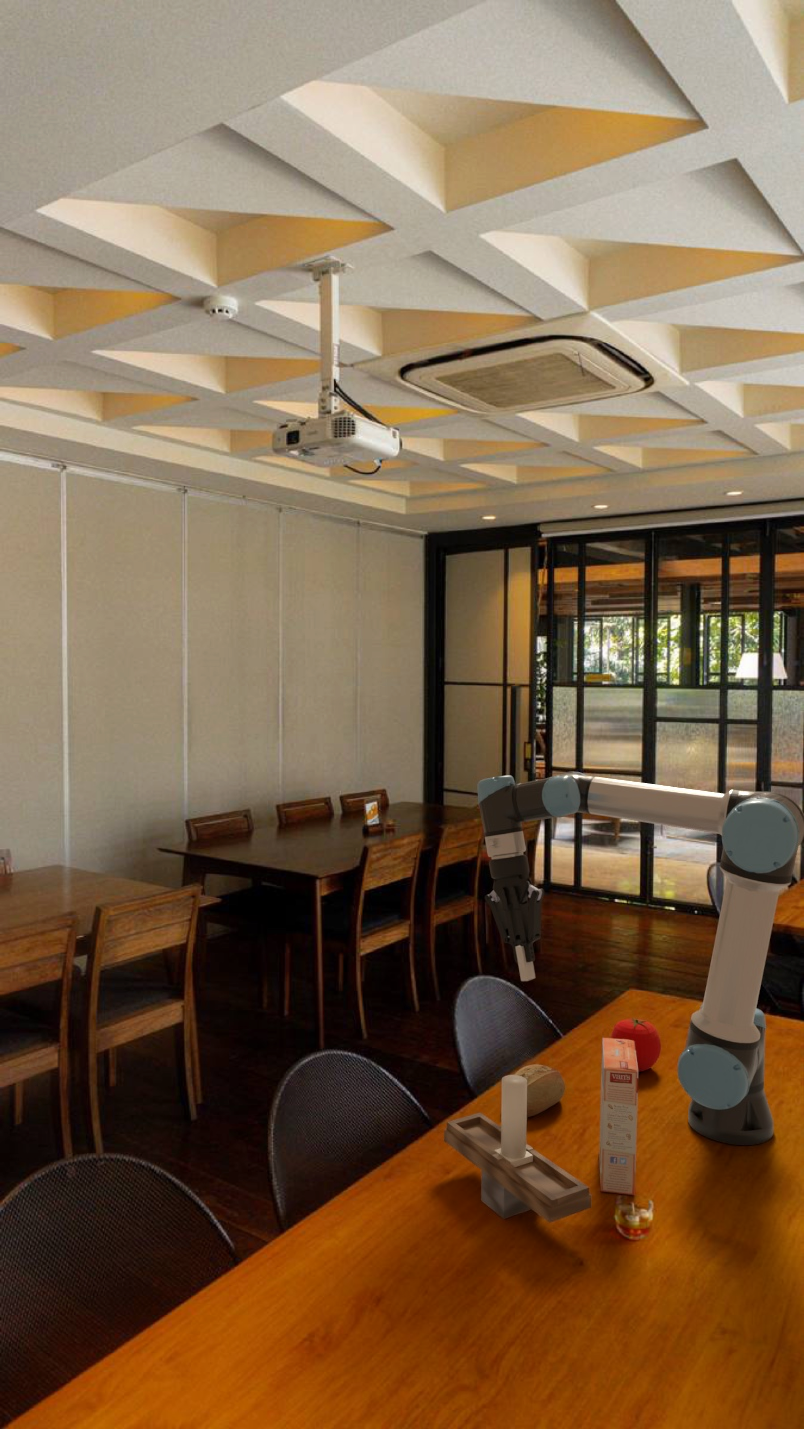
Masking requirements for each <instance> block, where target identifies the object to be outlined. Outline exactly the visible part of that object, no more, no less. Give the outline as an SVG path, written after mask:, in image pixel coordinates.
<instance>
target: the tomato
mask: <svg viewBox="0 0 804 1429" xmlns="http://www.w3.org/2000/svg"><path fill="white" fill-rule="evenodd" d="M610 1038H613V1039H627V1040H633V1041H634V1042H635V1050H636V1058H637V1065H638V1073H640V1072H644V1071H647V1070H649V1069H650V1068H652V1067H653V1066H654V1065H655V1064H656V1063H657V1061H658V1059H659V1058H660V1054H661V1052H662V1050H661V1049H662V1042H661V1037H660V1035H659V1033H658V1029H657V1028H656V1027H655V1026H654V1025H653V1024H652V1023H650V1022H649V1021H648V1020H645V1019H639V1018H633V1017H631V1018H628V1019H623V1020H619V1021H617V1023H616V1024H615V1025H614V1026H613V1029H612V1032H611V1036H610Z"/></svg>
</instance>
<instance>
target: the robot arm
mask: <svg viewBox="0 0 804 1429" xmlns="http://www.w3.org/2000/svg"><path fill="white" fill-rule="evenodd" d="M476 789H477V804H478V806H479V811H480V812H479V813H480V817H481V823H482V829H483V834H484V840H485V846H486V852H487V857H488V858H491V859H489V861H488V865H489V871H490V877H491V878H492V879H493V885H492V889H493V890H492V891H491V892H490V893H489V894H486V895H484V900H485V901H486V903H487V905H489V907H490V911H491V914H492V915H493V918H494V921H495V924H496V927H497V930H498V932H499V935H500V938H501V941H502V942H503V943H504V944H509V945H510V946H511V947H512V951H513V959H514V962H515V963H517V965H518V970H519V976H520V982H529V981H532V980H534V979H536V973H535V972H536V971H535V966H534V962H535V960H536V956H535V949H534V942H536V941H539V940H540V939H541V935H542V901H543V898H544V895H545V889H544V888H538V887H536V886H534V885H533V881H532V879H531V878H530V876H529V875H530V866H529V860H528V856H527V855H526V854H524V852H526V851H527V846H526V842H525V836H524V830H523V825H522V823H527V822H530V821H531V822H532V821H538V820H540V821H541V820H547V819H554V818H562V817H566V816H569V815H573V814H576V813H582V814H590V815H596V816H603V817H608V818H609V817H610V818H616V819H622V820H628V821H629V820H630V821H635V822H640V823H641V822H642V823H648V824H652V825H653V824H654V825H660V826H666V827H673V828H678V829H686V830H692V831H697V832H698V831H699V832H705V833H711V834H719V835H721V841H722V853H721V859H720V862H719V863H720V864H719V869H720V871H721V872H722V874H724V876H725V878H726V881H725V886H724V887H725V888H724V893H723V897H722V903H721V907H720V912H719V918H718V922H717V929H716V934H715V939H714V943H713V950H712V954H711V955H712V956H711V961H710V966H709V970H708V975H707V976H708V977H707V981H706V987H705V992H704V997H703V1002H702V1003H701V1005H700V1008H699V1010H696V1011H695V1012H693V1013H692V1014H691V1017H690V1023H689V1027H688V1030H687V1031H688V1032H687V1037H686V1043H685V1045H684V1046H685V1047H684V1050H683V1051H682V1052H680V1053H681V1054H680V1055H679V1057H678V1061H677V1077H678V1082H679V1083H680V1086H681V1087H682V1088H683V1090H684V1091H685V1092H686V1094H687V1095H688V1096H689V1097H690V1098H691V1100H690V1103H689V1106H688V1114H687V1115H688V1116H687V1118H688V1119H687V1120H688V1125H689V1126H690V1127H691V1128H692V1129H693V1130H694V1131H695V1132H697V1133H698V1134H700V1135H701V1136H703V1137H705V1138H708V1139H709V1140H713V1141H716V1142H720V1143H723V1144H729V1145H736V1146H753V1145H754V1146H755V1145H759V1144H763V1143H765V1142H768V1141H770V1139H772V1137H773V1135H774V1120H773V1119H774V1118H773V1115H772V1112H771V1109H770V1106H769V1103H768V1098H767V1096H766V1092H765V1063H766V1062H765V1059H766V1058H765V1054H766V1053H765V1052H766V1050H765V1049H766V1029H767V1025H766V1016H765V1013H764V1012H763V1011H762V1010H761V1009H759V1008H757V1005H758V1002H759V1001H758V1000H759V995H760V990H761V985H762V980H763V975H764V971H765V970H764V969H765V965H766V960H767V955H768V950H769V945H770V939H771V935H772V931H773V925H774V920H775V915H776V914H775V913H776V911H777V910H776V909H777V905H778V900H779V894H780V891H781V890H783V889H785V888H787V887H788V886H790V885H791V884H792V879H793V875H794V874H793V873H794V870H795V864H796V860H797V853H798V848H799V847H800V845H801V844H802V842H804V841H803V840H804V812H803V809H802V808H801V807H800V806H799V804H798V803H797V802H796V801H794V799H792V798H791V797H790V796H788V795H786V794H782V793H779V792H777V791H753V790H752V791H751V790H739V789H733V788H732V789H730V790H729V791H727V792H726V793H722V792H721V793H720V792H714V791H713V792H711V791H707V790H700V789H699V790H698V789H689V788H682V787H677V786H676V787H675V786H674V787H673V786H668V785H662V784H661V785H660V784H652V783H645V782H638V781H631V780H624V779H615V778H606V777H599V776H591V775H587V774H585V773H582V772H579V771H567V772H563V773H562V774H557V775H554V776H550V777H547V778H540V779H536V780H532V781H527V782H526V781H525V782H523V783H522V782H520V783H516V782H515V779H514V777H513V776H512V775H510V774H509V775H502V776H501V775H500V776H493V777H489V778H483V779H481V780H479V781H478V782H477V785H476Z"/></svg>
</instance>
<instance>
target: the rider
mask: <svg viewBox="0 0 804 1429" xmlns="http://www.w3.org/2000/svg"><path fill="white" fill-rule="evenodd" d="M500 1112H501V1120H500V1121H501V1123H500V1126H501V1148H500V1149H496V1150H494V1152H495V1153H498V1154H499V1155H500V1156H502V1157H503V1159H505V1160H506V1161H507V1162H509V1163H510V1164H511V1165H513V1166H514V1167H517V1166H520V1165H523V1164H527V1163H530V1162H533V1155H532V1154H530V1153H529V1152H528V1151H526V1144H527V1122H528V1121H527V1120H528V1117H527V1079H526V1078H524V1077H522V1076H519V1075H514V1074H509V1075H505V1076H502V1078H501V1111H500Z"/></svg>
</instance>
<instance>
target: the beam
mask: <svg viewBox="0 0 804 1429" xmlns="http://www.w3.org/2000/svg"><path fill="white" fill-rule="evenodd" d="M443 1130H444V1131H443V1132H444V1133H443V1136H444V1138H443V1140H444V1141H443V1142H445V1144H447V1145H448V1146H450V1147H451V1148H452V1149H454V1150H455V1151H456V1152H458V1153H459V1154H460V1155H461V1156H463V1157H464V1158H465V1159H467V1160H468V1161H469V1162H471V1163H472V1164H473V1165H474V1166H475V1167H477V1168H478V1169H480V1170H481V1177H480V1178H481V1181H480V1183H481V1185H480V1186H481V1188H480V1189H481V1190H480V1191H481V1192H480V1196H481V1198H480V1200H481V1202H482V1203H483V1204H485V1205H486V1206H487V1207H489V1208H490V1209H491V1210H492V1211H493V1212H495V1214H497V1215H498V1216H500V1217H501V1218H502V1219H503V1220H505V1219H509V1218H510V1217H513V1216H515V1215H519V1214H521V1213H525V1212H527V1211H530V1210H532V1211H533V1212H535V1213H536V1214H537V1215H538V1216H540V1217H541V1218H543V1220H545V1221H546V1222H547V1223H549V1224H550V1223H552V1222H556V1221H558V1220H561V1219H564V1218H567V1217H569V1216H572V1215H575V1214H578V1213H580V1212H583V1211H586V1210H588V1209H591V1208H592V1194H591V1193H590V1187H589V1186H588V1185H586V1184H585V1183H583V1182H582V1181H580V1180H579V1179H577V1178H576V1177H574V1176H573V1175H571V1174H570V1173H569V1172H567V1171H566V1170H565V1169H563V1168H561V1167H560V1166H558V1165H557V1164H555V1163H554V1162H553V1161H551V1160H550V1159H548V1158H547V1157H545V1156H544V1155H542V1153H539V1152H538V1151H537V1150H535V1149H534V1148H533V1147H532V1146H531V1145H529V1144H528V1143H526V1151H528V1152H529V1153H530V1154H532V1155H533V1162H530V1163H527V1164H523V1165H520V1166H517V1167H514V1166H513V1165H511V1164H510V1163H509V1162H507V1161H506V1160H505V1159H503V1157H502V1156H500V1155H499V1154H498V1153H495V1152H494V1150H496V1149H500V1148H501V1125H499V1124H498V1123H496V1122H495V1121H494V1120H492V1119H491V1118H489V1117H488V1116H486V1115H485V1114H483V1113H482V1112H477V1113H474V1114H470V1115H467V1116H463V1117H459V1118H457V1119H453V1120H449V1121H446V1128H444V1129H443Z"/></svg>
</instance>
